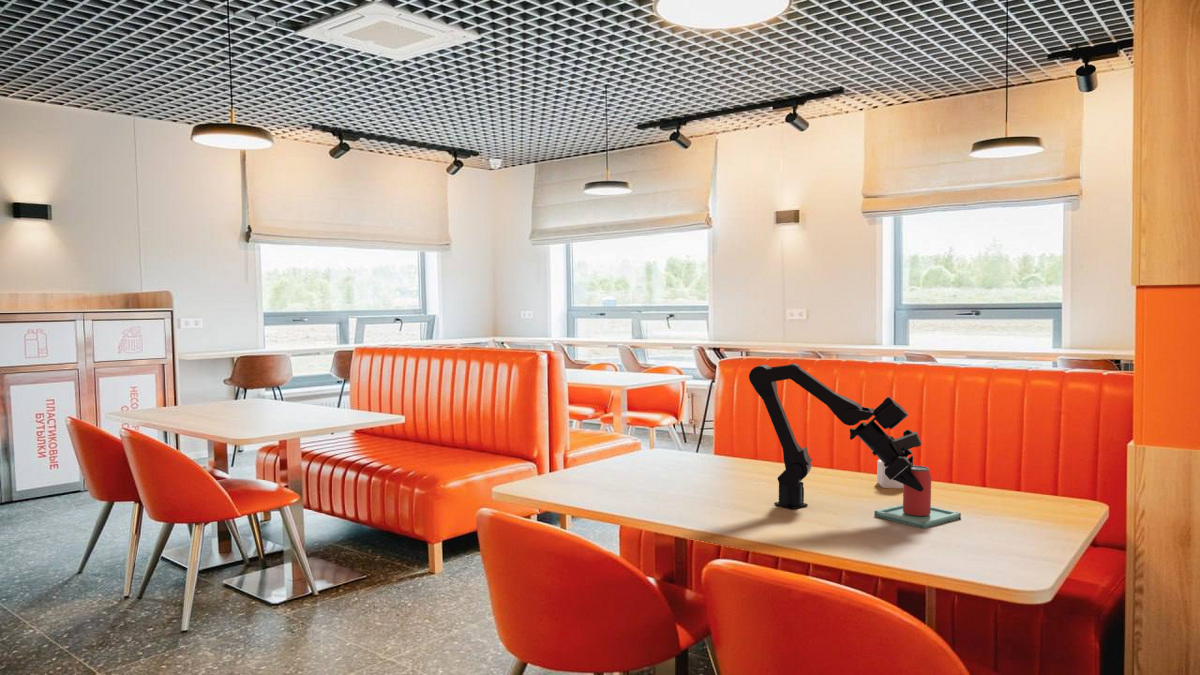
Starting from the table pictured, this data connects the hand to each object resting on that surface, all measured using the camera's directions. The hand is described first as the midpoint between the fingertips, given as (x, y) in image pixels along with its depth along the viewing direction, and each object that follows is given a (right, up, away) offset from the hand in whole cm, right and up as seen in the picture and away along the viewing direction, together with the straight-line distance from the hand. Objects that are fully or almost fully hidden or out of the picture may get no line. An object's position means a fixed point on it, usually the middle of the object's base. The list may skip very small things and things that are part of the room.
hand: (922, 487), depth 208 cm
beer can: (-1, -7, +1) cm, 7 cm away
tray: (-1, -8, +1) cm, 8 cm away
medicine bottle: (+5, -6, +37) cm, 38 cm away
